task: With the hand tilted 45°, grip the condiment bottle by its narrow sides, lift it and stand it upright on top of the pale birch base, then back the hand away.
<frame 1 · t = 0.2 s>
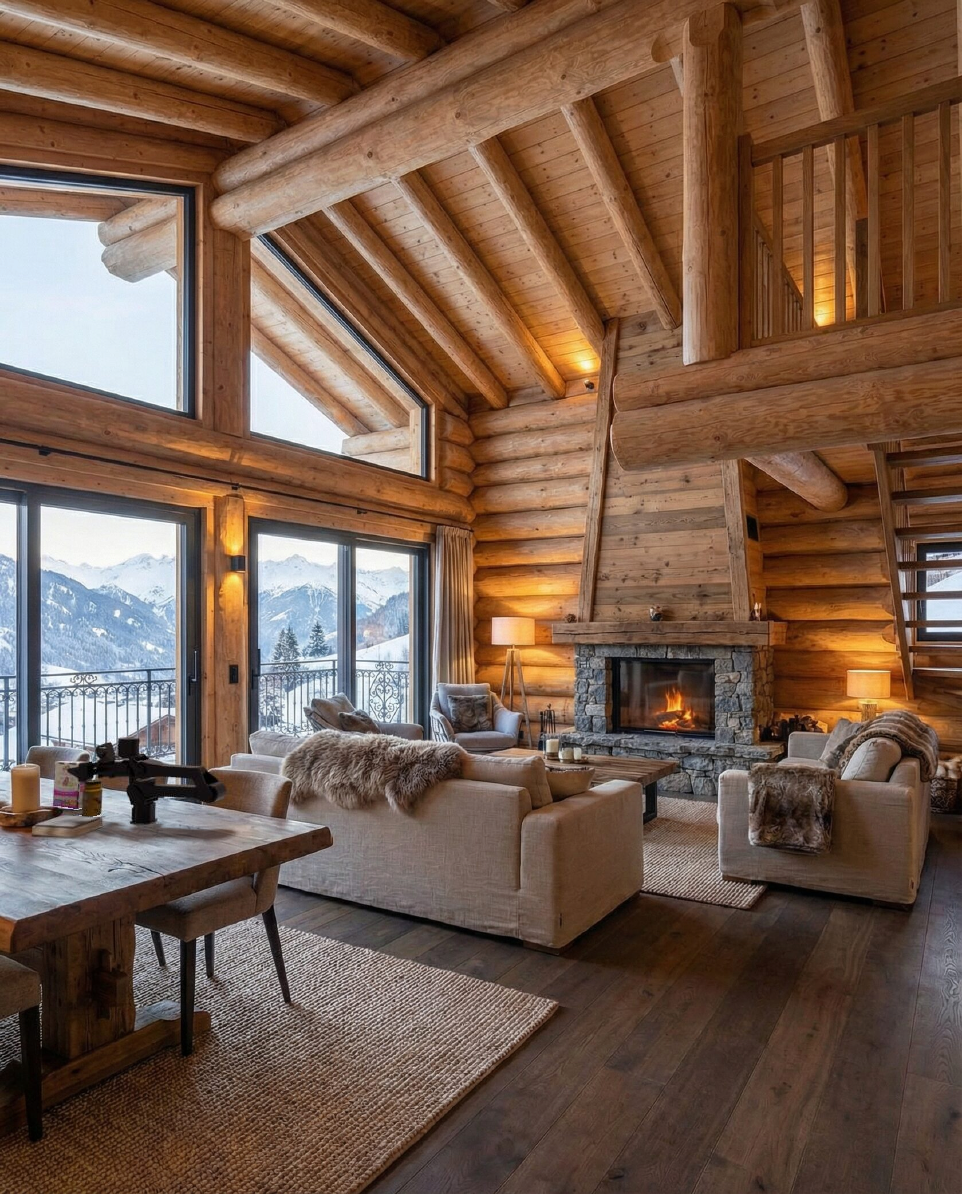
hand: (76, 768, 273), 17 cm above the table, tool horizontal, fingers open, 9 cm apart
condiment: (88, 817, 274), on the table
candy bar box: (70, 809, 287), on the table
birch base: (67, 830, 255), on the table
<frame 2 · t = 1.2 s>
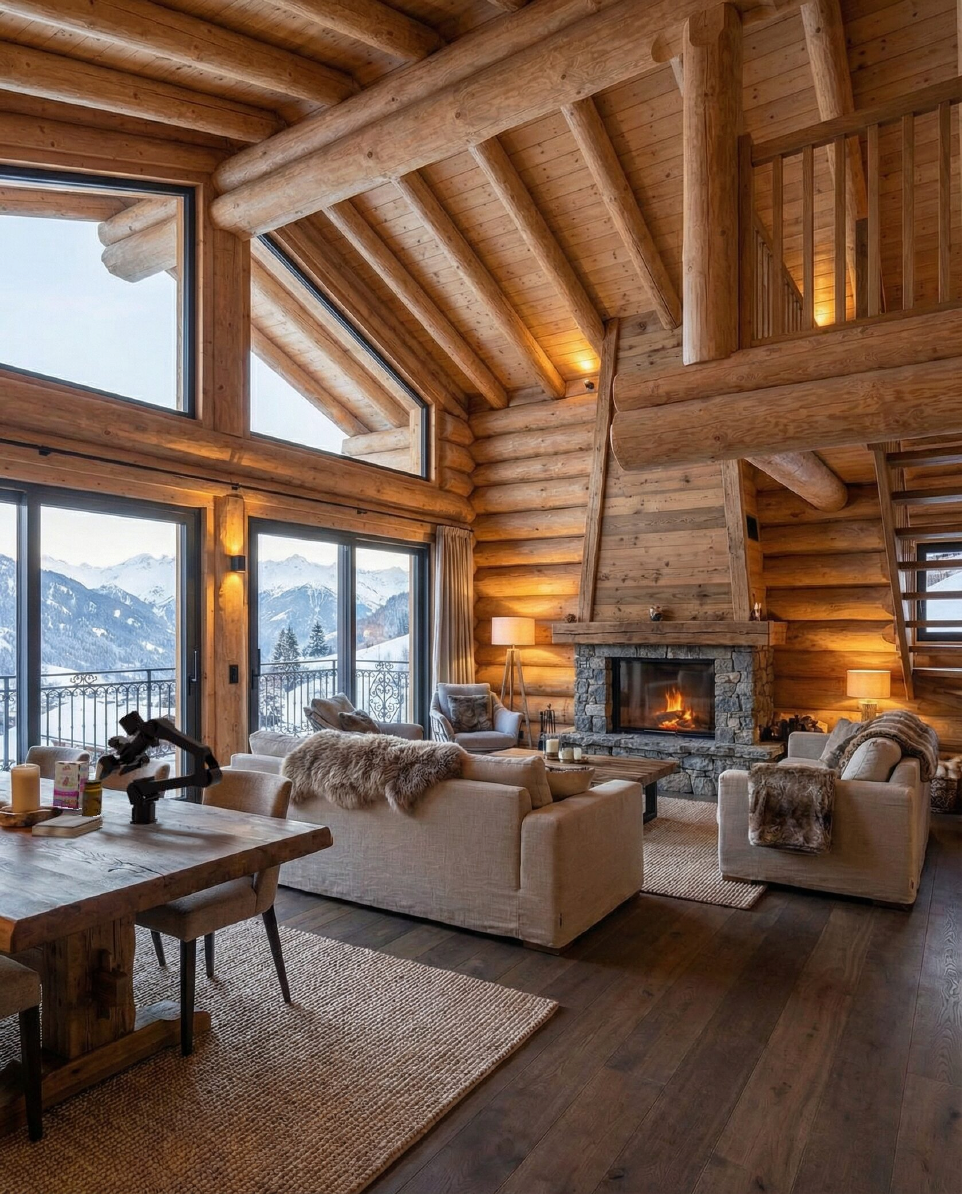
hand: (109, 777, 273), 14 cm above the table, tool tilted 45°, fingers open, 9 cm apart
nothing on the table moved.
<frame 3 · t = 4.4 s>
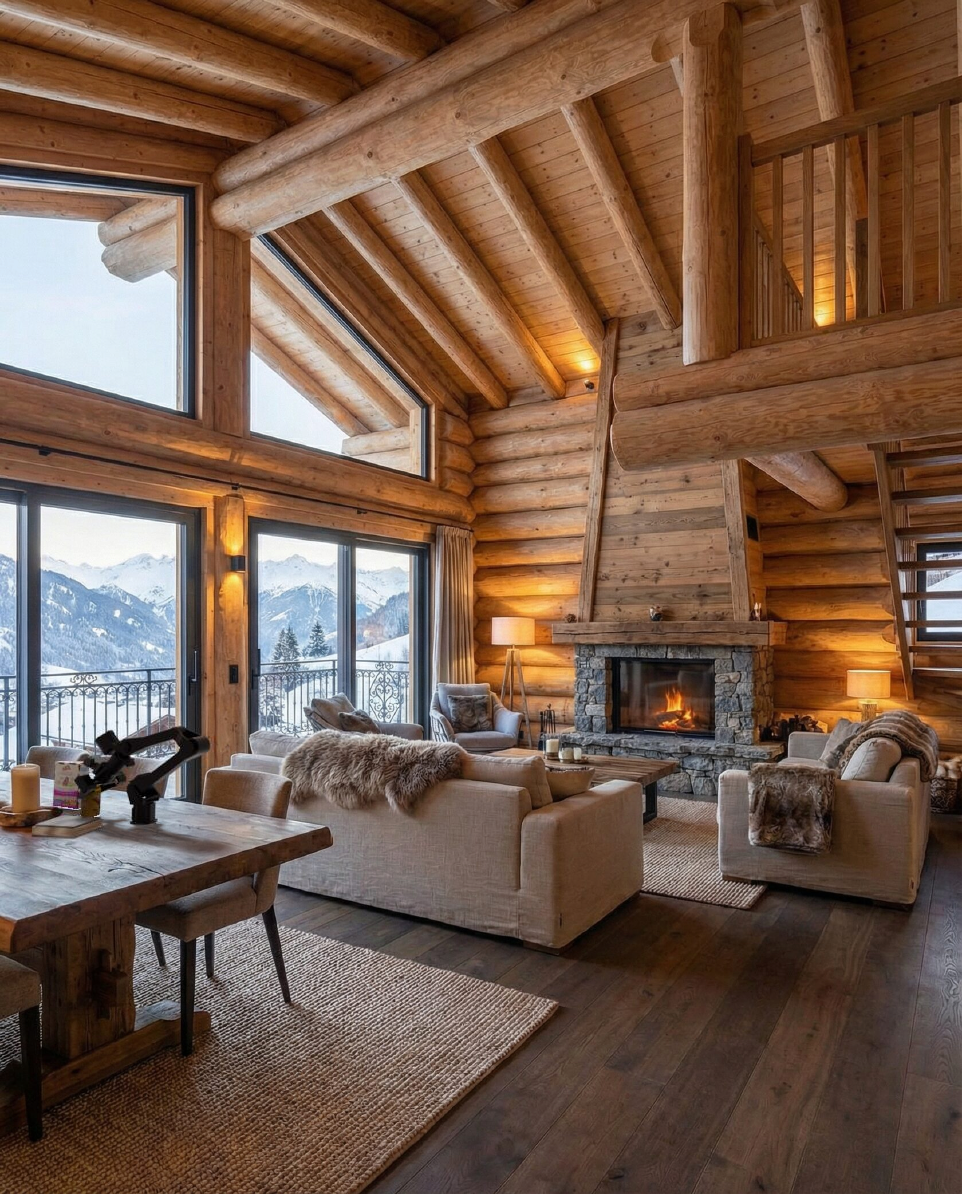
hand: (86, 796, 275), 7 cm above the table, tool tilted 45°, fingers closed on condiment, 6 cm apart
condiment: (87, 817, 274), on the table, touching gripper
everything else where it was.
when the fingers open (11 cm above the table, at t = 9.1 s): condiment drops 1 cm, resting on birch base.
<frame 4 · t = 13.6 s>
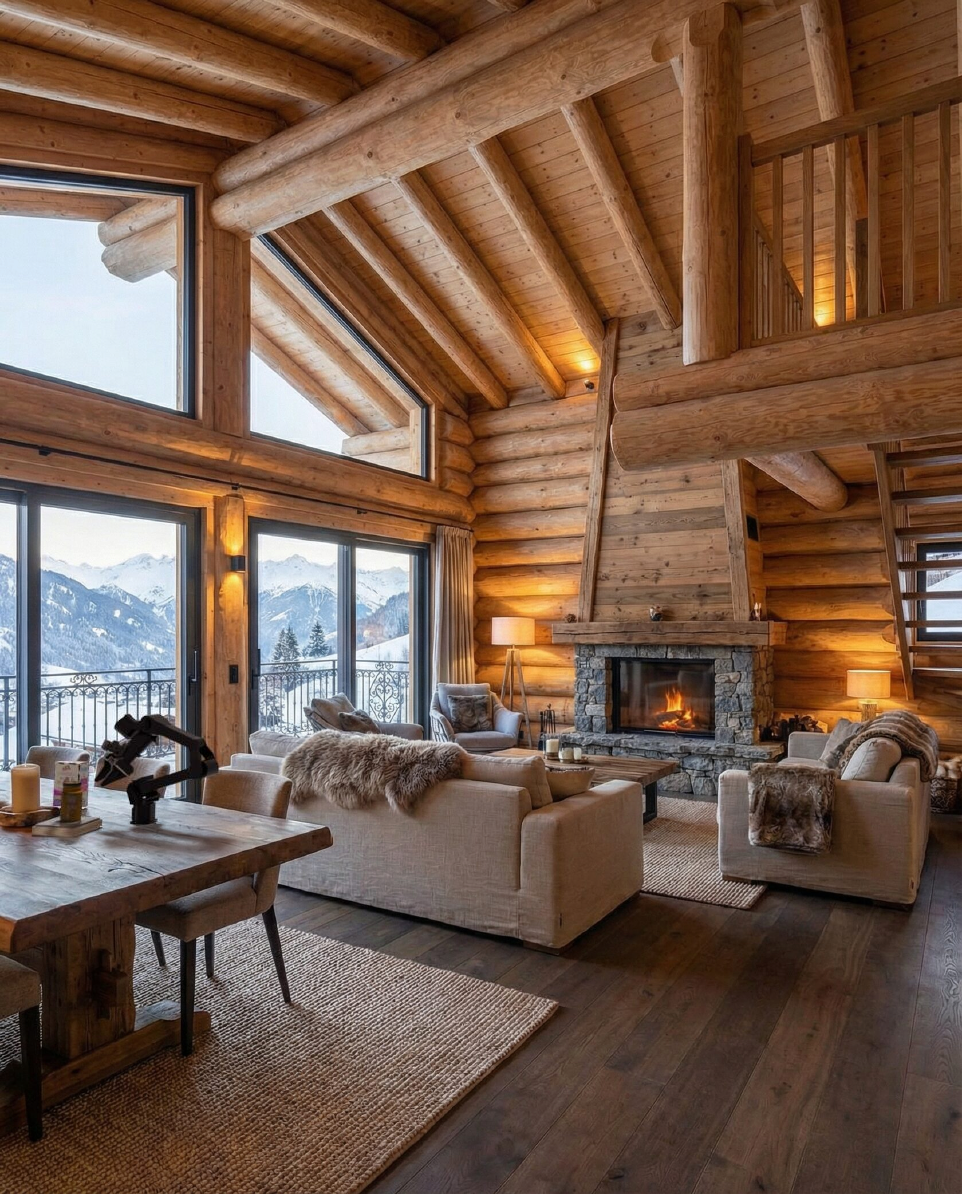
hand: (98, 783, 262), 14 cm above the table, tool tilted 45°, fingers open, 9 cm apart
condiment: (69, 821, 255), point 3 cm above the table, touching birch base
everything else where it was.
at the end: condiment inside the target area on the birch base (0.6 cm from its centre), point 2.8 cm above the birch base's base; condiment tilted 0°; the gripper is holding nothing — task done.
